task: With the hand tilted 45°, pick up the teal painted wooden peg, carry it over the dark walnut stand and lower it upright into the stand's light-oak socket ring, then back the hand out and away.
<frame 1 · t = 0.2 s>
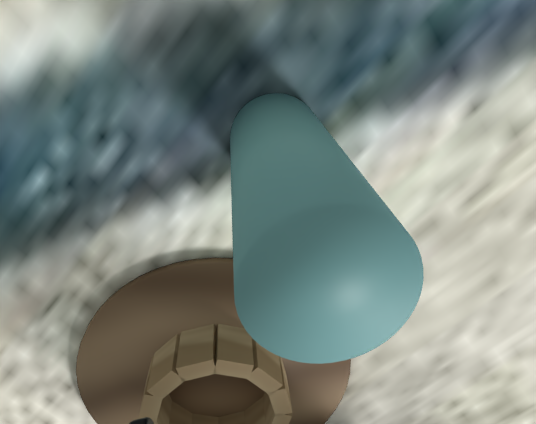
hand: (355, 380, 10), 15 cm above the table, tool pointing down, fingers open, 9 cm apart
walnut stand: (217, 371, 28), on the table
teal peg: (275, 138, 22), on the table
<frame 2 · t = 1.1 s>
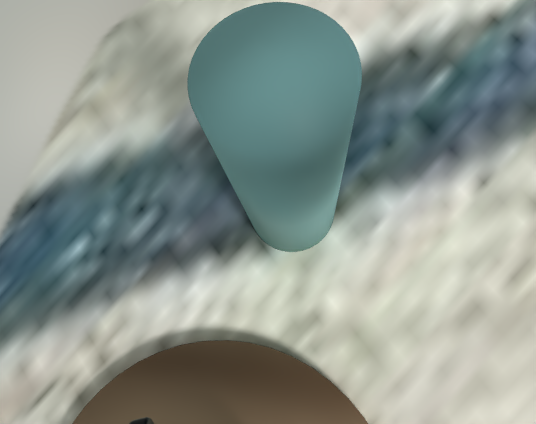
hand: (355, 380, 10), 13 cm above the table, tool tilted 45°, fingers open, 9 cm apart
teal peg: (292, 210, 24), on the table
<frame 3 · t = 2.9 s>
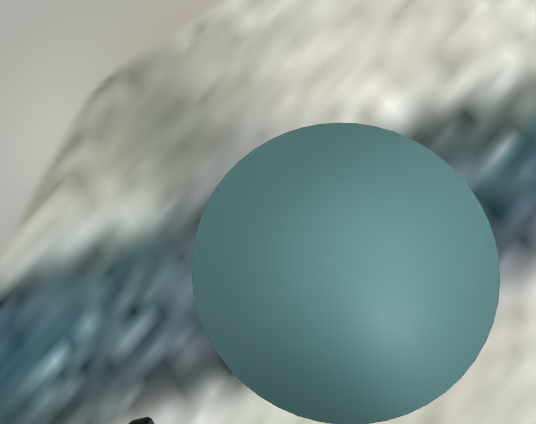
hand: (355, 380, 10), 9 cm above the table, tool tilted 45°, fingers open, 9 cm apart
teal peg: (322, 317, 19), on the table
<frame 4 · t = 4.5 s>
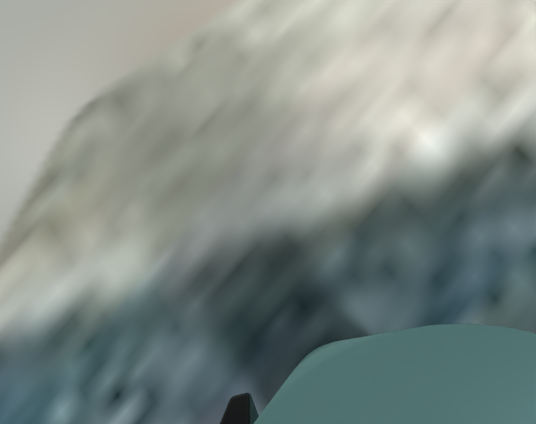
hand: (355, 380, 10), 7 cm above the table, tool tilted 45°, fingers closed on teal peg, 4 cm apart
teal peg: (349, 407, 15), on the table, touching gripper
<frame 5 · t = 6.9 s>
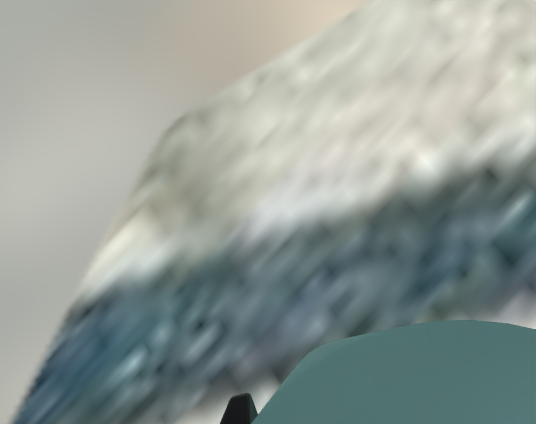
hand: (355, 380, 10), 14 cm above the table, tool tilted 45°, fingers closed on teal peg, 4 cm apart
teal peg: (349, 406, 15), point 7 cm above the table, touching gripper
when the fingers open (9 cm above the table, at t = 9.6 s): teal peg drops 1 cm, resting on walnut stand.
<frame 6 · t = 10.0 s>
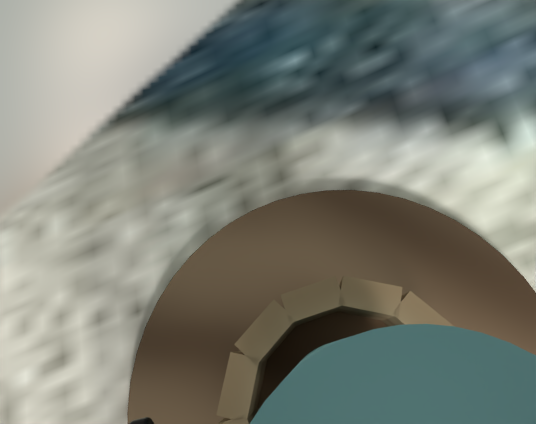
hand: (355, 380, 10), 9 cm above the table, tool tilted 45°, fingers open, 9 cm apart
walnut stand: (345, 400, 17), on the table
teal peg: (345, 403, 17), point 1 cm above the table, touching walnut stand
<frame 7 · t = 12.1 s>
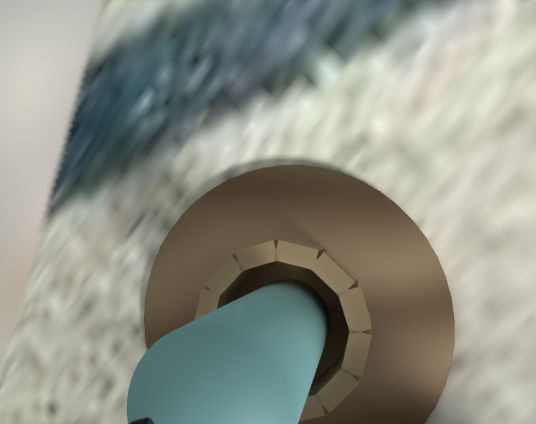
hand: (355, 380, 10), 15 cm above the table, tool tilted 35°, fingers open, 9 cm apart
walnut stand: (289, 318, 25), on the table
teal peg: (288, 320, 24), point 1 cm above the table, touching walnut stand
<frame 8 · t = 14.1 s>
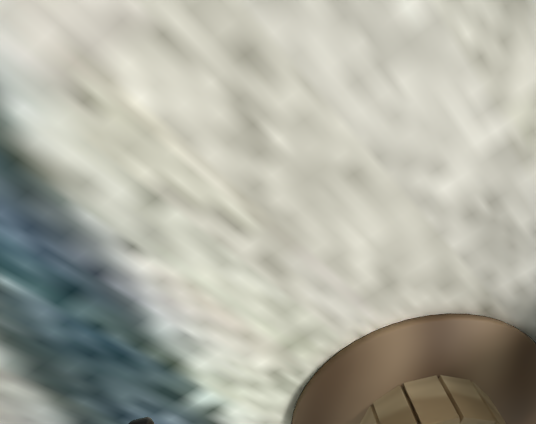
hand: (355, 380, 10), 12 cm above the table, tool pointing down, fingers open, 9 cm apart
walnut stand: (420, 416, 29), on the table
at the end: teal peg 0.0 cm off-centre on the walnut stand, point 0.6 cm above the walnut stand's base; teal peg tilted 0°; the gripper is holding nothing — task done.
